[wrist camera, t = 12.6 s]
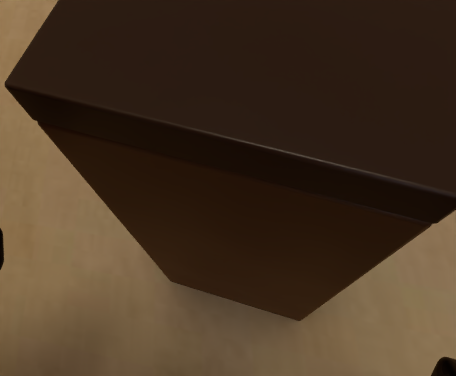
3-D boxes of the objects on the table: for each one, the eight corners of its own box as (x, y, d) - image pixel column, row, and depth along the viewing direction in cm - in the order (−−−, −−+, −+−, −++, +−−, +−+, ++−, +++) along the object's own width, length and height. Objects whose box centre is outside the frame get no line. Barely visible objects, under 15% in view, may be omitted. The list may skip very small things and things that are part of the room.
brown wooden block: (300, 321, 15) (471, 201, 4) (169, 281, 16) (0, 84, 5) (330, 187, 18) (492, -133, 6) (213, 157, 19) (171, -175, 7)
